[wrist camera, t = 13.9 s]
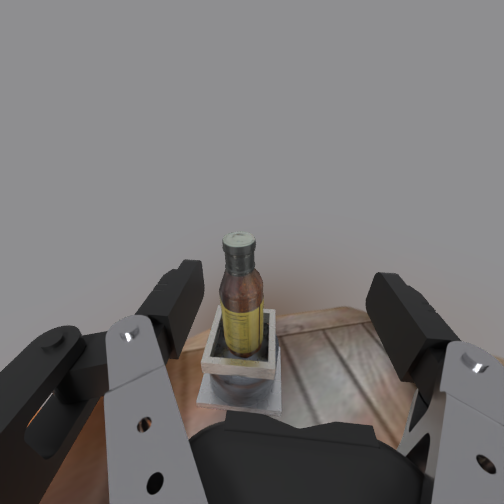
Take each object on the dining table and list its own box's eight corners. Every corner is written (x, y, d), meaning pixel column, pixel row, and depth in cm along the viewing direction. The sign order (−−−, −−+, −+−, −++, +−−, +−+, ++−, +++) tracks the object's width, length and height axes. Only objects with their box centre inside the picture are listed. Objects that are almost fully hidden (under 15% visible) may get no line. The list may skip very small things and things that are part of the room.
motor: (279, 351, 47) (284, 309, 41) (280, 416, 37) (288, 372, 31) (213, 345, 48) (209, 303, 42) (197, 407, 38) (188, 362, 32)
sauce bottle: (242, 323, 41) (240, 222, 31) (270, 341, 38) (277, 234, 28) (216, 346, 37) (203, 237, 27) (244, 369, 33) (242, 255, 24)
